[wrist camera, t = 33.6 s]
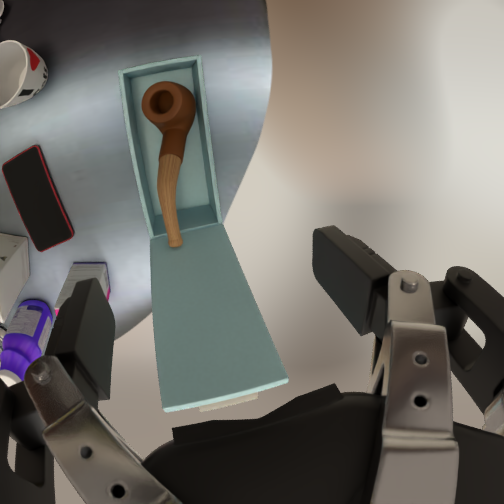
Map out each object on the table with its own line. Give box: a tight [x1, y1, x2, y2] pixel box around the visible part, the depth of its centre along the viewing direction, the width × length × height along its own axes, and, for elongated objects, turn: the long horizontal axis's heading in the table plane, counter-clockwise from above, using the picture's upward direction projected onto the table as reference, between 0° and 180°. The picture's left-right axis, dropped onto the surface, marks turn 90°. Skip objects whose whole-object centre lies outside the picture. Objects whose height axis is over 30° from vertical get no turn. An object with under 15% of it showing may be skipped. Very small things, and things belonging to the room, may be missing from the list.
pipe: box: [141, 81, 196, 247], centre depth 32 cm, size 7×19×6 cm
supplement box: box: [54, 262, 110, 315], centre depth 37 cm, size 6×6×12 cm
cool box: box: [118, 55, 222, 240], centre depth 33 cm, size 20×9×8 cm, turn 5°
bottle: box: [0, 300, 52, 387], centre depth 34 cm, size 7×6×17 cm
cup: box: [0, 40, 48, 109], centre depth 21 cm, size 8×8×10 cm
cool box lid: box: [150, 224, 289, 412], centre depth 28 cm, size 21×9×5 cm
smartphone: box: [2, 145, 73, 252], centre depth 33 cm, size 7×1×15 cm
